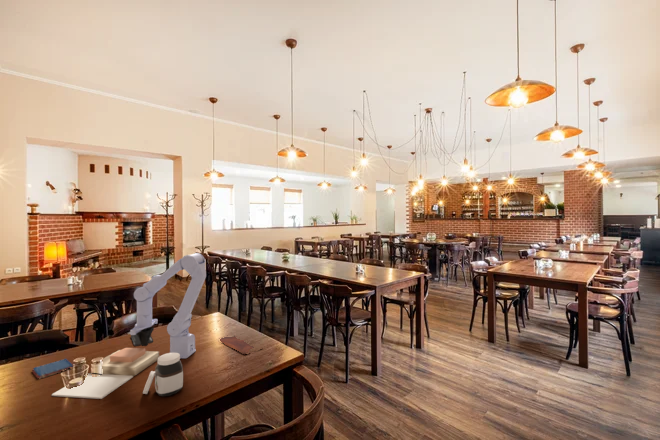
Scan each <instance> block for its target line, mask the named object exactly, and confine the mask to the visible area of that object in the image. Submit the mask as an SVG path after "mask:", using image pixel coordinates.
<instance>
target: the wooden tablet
mask: <svg viewBox="0 0 660 440" xmlns="http://www.w3.org/2000/svg"><path fill="white" fill-rule="evenodd" d="M223 337H224V338H223ZM223 337H220V338H221V339H220V338H219V339H220V341H221V342H222V343H224V344H225V346H227V347H229V348H231V349H232V348H233V349H232V350H234V349H235V350H234V351H236V350H237V351H236V352H238V351H239V352H241V353H243V354H246V353H248V352H249V350H250V349H252V348H254V347H253V346H250V345H249V344H247V343H246V342H244V340H245V339H244V340H240V339H237V338H236V337H237V336H236V337H225V336H223ZM222 343H221V344H222ZM224 344H223V345H224ZM239 352H238V353H239ZM241 353H240V354H241ZM243 354H242V355H243Z"/></svg>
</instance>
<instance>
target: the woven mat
mask: <svg viewBox="0 0 660 440" xmlns="http://www.w3.org/2000/svg"><path fill="white" fill-rule="evenodd" d="M70 367H72V368H74V364H73V363H72V362H71V361H70V360H68V359H67V358H64V359H60V360H57V361H54V362H50V363H45V364H43V365H39V366H35V367H33V368H32V370H31V371H32V374H33V375H34V376H35V378H37V379H38V378H39V379H38V380H41V379H42V378H48V377H49V376H53V375H58V374H60V373H61V371H63V370H65V369H67V370H69V369H68V368H70ZM57 373H58V374H57Z"/></svg>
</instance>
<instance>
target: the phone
mask: <svg viewBox="0 0 660 440" xmlns="http://www.w3.org/2000/svg"><path fill="white" fill-rule="evenodd" d="M130 340H131V342H132V344H133V346H134V347H138V346H141V342H140V340H139V337H138V336H137V334H136V335H130ZM151 343H154V339H153V336H152V335H151V336H150V339H149V343H148V344H151Z"/></svg>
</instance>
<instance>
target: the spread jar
mask: <svg viewBox="0 0 660 440" xmlns="http://www.w3.org/2000/svg"><path fill="white" fill-rule="evenodd" d="M180 359H181V358H180V354H179V353H170V352H167V353H164V354H162V355H159V357H158V360H157V364H156V365H155V369H154V371H153V370H151V371H150V372H149V375H148V378H147V380H146V383H145V385H144V388H143V390H142V394H145V395H148V393H149V391H150V387H151V385H152V383H153V381H154V387H155V392H156V394H157V395H158V396H160V397H170V396H172V395H175V394H177V393H178V392H179V391H181V390H182V389H183V385H184V370H183V364H182V361H181V360H180Z"/></svg>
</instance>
